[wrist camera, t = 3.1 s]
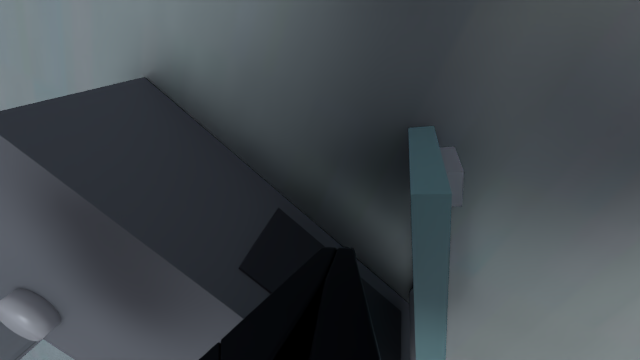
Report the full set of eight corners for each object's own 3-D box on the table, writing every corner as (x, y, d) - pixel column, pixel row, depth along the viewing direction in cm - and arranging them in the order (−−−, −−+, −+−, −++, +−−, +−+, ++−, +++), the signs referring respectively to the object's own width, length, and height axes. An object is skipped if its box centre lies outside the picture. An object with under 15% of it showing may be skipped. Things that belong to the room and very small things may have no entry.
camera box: (421, 312, 14) (432, 486, 9) (297, 370, 19) (256, 502, 14) (109, 44, 12) (-138, 68, 6) (59, 192, 17) (-100, 274, 11)
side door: (442, 307, 14) (458, 425, 10) (409, 304, 14) (411, 416, 10) (448, 123, 10) (477, 196, 6) (402, 127, 10) (400, 197, 6)
